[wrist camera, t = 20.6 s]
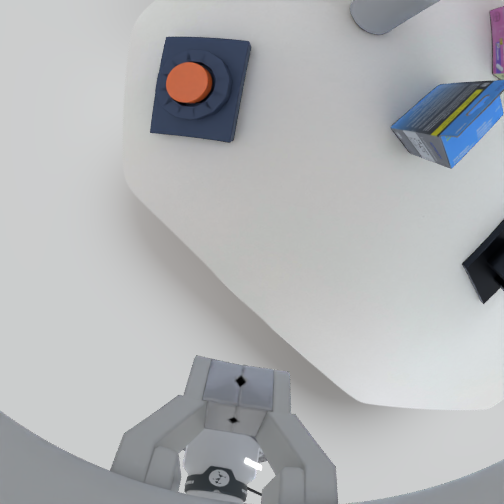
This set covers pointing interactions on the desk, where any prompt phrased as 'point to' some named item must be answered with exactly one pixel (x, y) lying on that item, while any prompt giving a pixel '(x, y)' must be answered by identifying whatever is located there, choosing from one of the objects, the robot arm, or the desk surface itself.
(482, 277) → the bracket
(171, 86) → the button
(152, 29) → the desk surface
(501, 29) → the box
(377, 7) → the beverage can
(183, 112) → the control block
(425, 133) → the tape cartridge
